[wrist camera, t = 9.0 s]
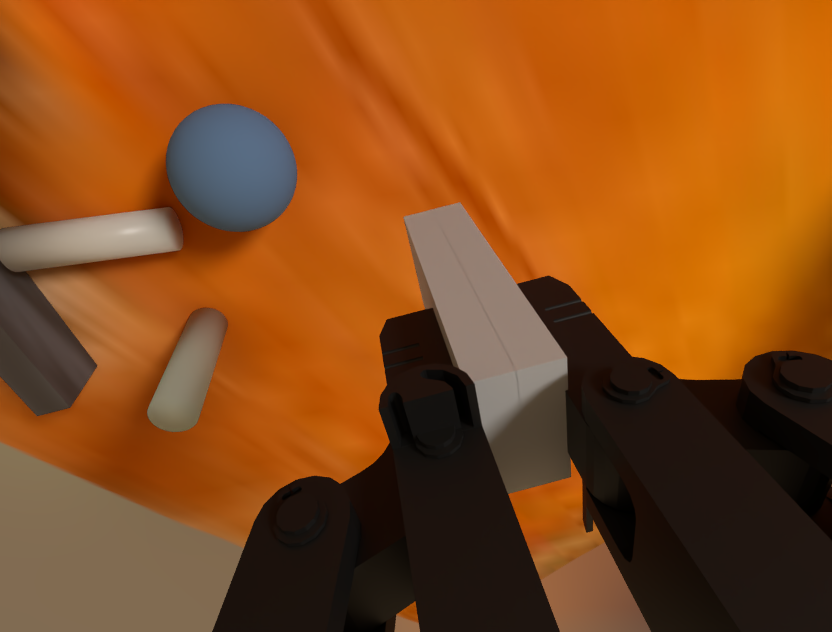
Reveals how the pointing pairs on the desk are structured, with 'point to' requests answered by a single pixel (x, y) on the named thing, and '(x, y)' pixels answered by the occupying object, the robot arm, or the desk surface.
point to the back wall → (38, 347)
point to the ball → (231, 167)
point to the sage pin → (189, 372)
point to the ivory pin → (90, 239)
